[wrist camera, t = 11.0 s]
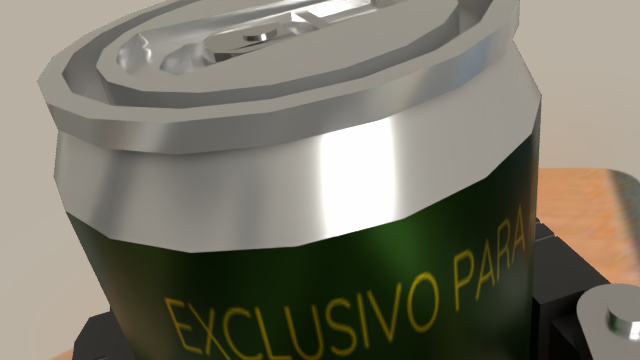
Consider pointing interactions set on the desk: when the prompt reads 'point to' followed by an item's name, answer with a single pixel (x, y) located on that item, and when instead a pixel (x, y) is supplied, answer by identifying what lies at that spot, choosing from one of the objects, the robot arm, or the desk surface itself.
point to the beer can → (305, 177)
